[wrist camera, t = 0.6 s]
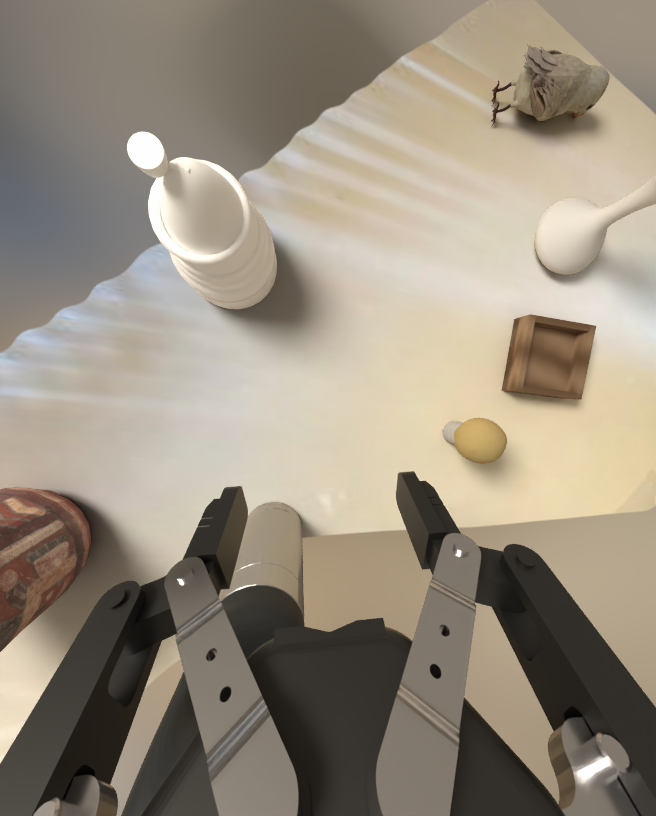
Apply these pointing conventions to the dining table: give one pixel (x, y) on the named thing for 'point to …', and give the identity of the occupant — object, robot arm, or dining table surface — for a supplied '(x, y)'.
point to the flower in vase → (583, 228)
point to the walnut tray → (548, 357)
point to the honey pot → (207, 226)
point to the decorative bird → (555, 85)
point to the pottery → (37, 554)
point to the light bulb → (476, 439)
